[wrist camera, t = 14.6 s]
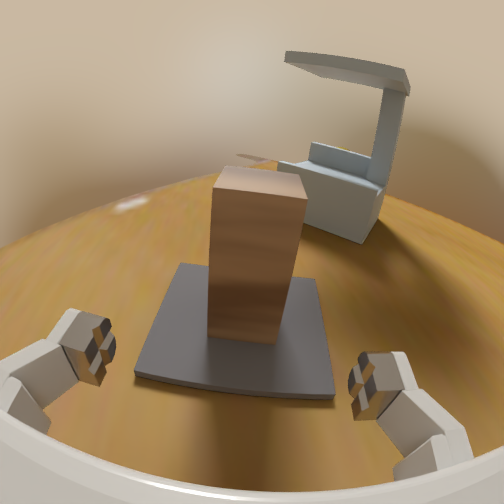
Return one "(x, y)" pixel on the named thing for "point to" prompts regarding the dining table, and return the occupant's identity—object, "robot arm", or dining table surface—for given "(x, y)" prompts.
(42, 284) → the dining table surface
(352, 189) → the grey cantilever stand
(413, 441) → the robot arm
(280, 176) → the walnut block
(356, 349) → the dining table surface
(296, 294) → the felt mat
